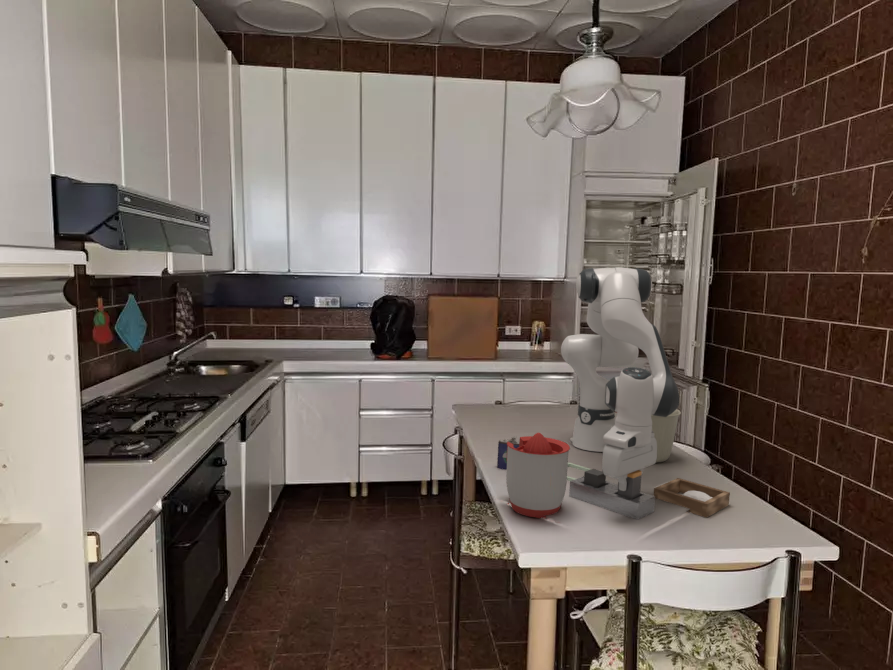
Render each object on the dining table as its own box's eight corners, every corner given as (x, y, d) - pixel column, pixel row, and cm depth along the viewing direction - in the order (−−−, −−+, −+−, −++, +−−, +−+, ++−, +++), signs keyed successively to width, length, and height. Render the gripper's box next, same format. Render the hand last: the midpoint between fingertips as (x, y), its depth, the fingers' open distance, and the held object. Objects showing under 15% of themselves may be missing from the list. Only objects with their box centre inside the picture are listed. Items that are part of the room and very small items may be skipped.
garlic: (717, 507, 164) (718, 493, 164) (708, 514, 159) (710, 500, 159) (687, 499, 169) (688, 485, 169) (677, 505, 164) (678, 492, 164)
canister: (681, 469, 195) (686, 403, 192) (621, 463, 198) (625, 398, 196) (672, 453, 212) (677, 392, 210) (617, 448, 216) (621, 388, 214)
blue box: (528, 470, 188) (529, 436, 187) (527, 473, 185) (528, 438, 184) (497, 467, 190) (499, 433, 189) (496, 470, 187) (497, 435, 186)
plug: (625, 493, 160) (627, 467, 159) (639, 498, 157) (641, 471, 156) (617, 497, 157) (618, 470, 156) (631, 502, 154) (633, 474, 153)
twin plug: (591, 494, 167) (593, 468, 167) (604, 498, 164) (606, 472, 164) (583, 497, 165) (584, 471, 164) (595, 501, 162) (597, 475, 161)
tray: (568, 467, 192) (568, 462, 192) (602, 478, 183) (602, 472, 183) (544, 475, 184) (544, 469, 184) (578, 487, 175) (578, 480, 175)
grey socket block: (586, 492, 171) (587, 475, 170) (653, 515, 156) (655, 496, 156) (568, 499, 166) (569, 481, 165) (637, 523, 151) (638, 503, 151)
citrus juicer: (519, 492, 170) (523, 420, 167) (577, 509, 159) (581, 432, 157) (485, 508, 158) (489, 430, 155) (545, 528, 147) (550, 445, 144)
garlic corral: (677, 489, 176) (678, 477, 175) (728, 505, 165) (729, 492, 165) (653, 500, 167) (654, 488, 166) (706, 517, 156) (707, 504, 156)
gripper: (642, 425, 165) (639, 476, 166) (599, 437, 151) (595, 492, 152) (665, 430, 160) (661, 482, 161) (622, 443, 146) (618, 500, 147)
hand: (629, 487), depth 157 cm, fingers closed on plug, 4 cm apart
